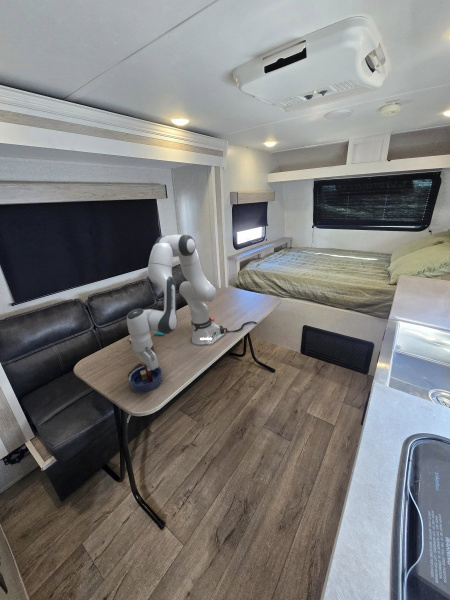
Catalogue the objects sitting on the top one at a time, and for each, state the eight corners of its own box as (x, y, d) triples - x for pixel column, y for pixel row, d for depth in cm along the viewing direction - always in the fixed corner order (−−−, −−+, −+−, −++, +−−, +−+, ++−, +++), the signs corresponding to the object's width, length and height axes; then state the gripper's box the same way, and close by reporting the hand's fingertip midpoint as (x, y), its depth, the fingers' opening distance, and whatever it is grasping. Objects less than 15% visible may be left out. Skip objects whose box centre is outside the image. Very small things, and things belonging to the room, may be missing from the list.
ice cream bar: (144, 360, 139) (127, 377, 126) (144, 358, 138) (126, 374, 125) (152, 361, 137) (135, 379, 124) (151, 359, 137) (135, 376, 124)
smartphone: (173, 325, 177) (162, 335, 163) (173, 326, 177) (162, 336, 164) (164, 324, 179) (153, 334, 165) (164, 325, 179) (153, 335, 166)
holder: (152, 350, 148) (150, 342, 146) (156, 353, 145) (154, 345, 143) (144, 353, 145) (142, 345, 143) (148, 357, 142) (146, 348, 140)
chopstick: (151, 380, 119) (145, 355, 114) (153, 382, 118) (147, 356, 112) (148, 382, 118) (142, 356, 113) (149, 384, 117) (143, 358, 111)
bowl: (154, 368, 131) (152, 361, 129) (168, 382, 120) (167, 374, 118) (126, 383, 122) (123, 375, 120) (138, 399, 111) (136, 390, 109)
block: (148, 374, 126) (146, 368, 125) (149, 377, 123) (148, 372, 122) (141, 376, 125) (140, 371, 123) (142, 380, 122) (141, 374, 120)
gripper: (159, 349, 104) (164, 375, 110) (139, 333, 119) (144, 356, 124) (145, 355, 101) (151, 382, 106) (127, 338, 115) (132, 362, 120)
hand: (147, 368), depth 115 cm, fingers closed on chopstick, 2 cm apart
